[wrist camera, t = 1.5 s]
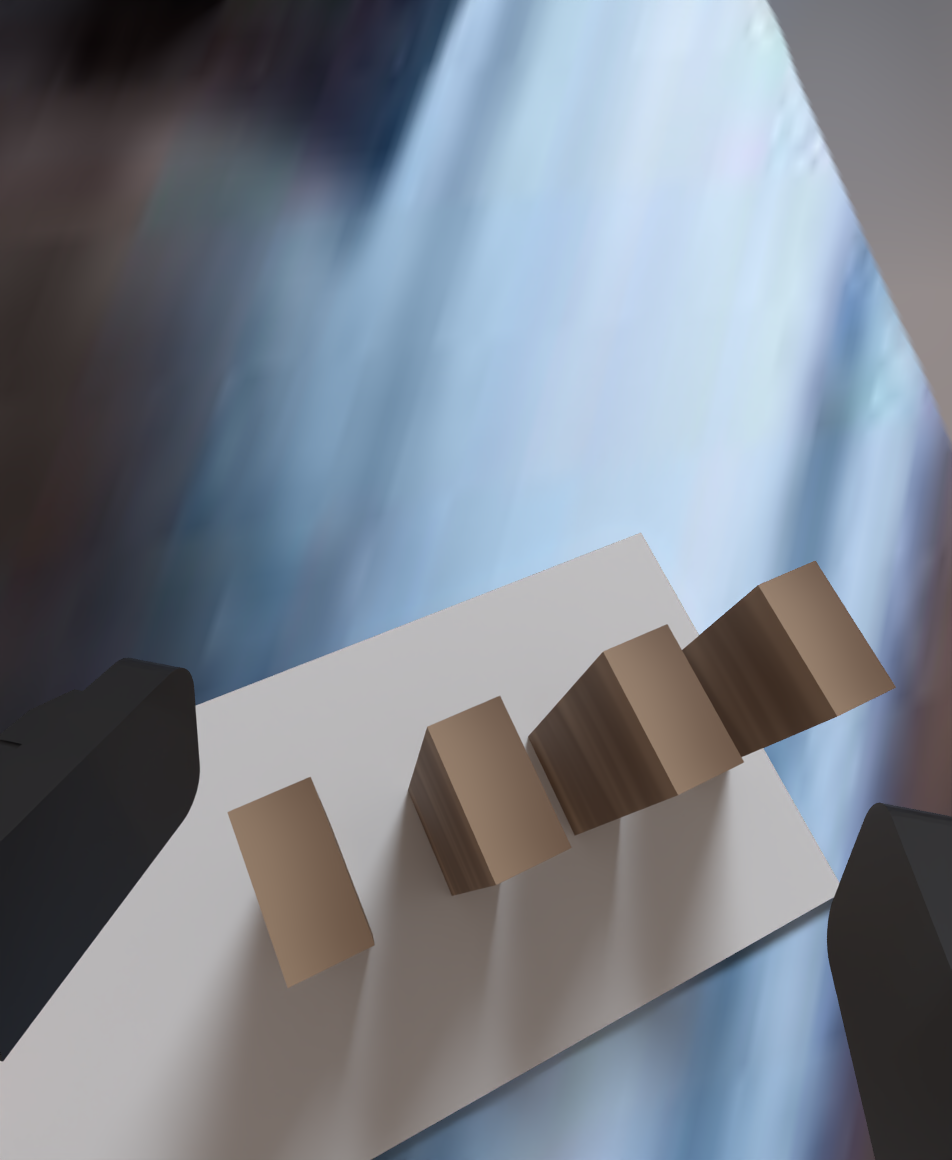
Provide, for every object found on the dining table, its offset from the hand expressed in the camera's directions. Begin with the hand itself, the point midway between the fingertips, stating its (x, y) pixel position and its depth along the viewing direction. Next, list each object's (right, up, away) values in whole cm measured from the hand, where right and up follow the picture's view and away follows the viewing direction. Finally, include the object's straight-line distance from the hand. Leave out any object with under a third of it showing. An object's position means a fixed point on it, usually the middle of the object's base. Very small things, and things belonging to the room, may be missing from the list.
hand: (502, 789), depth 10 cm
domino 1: (-6, -8, +19) cm, 21 cm away
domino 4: (+8, -3, +23) cm, 24 cm away
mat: (-5, -8, +19) cm, 22 cm away
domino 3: (+3, -5, +21) cm, 22 cm away
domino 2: (-1, -7, +20) cm, 21 cm away
